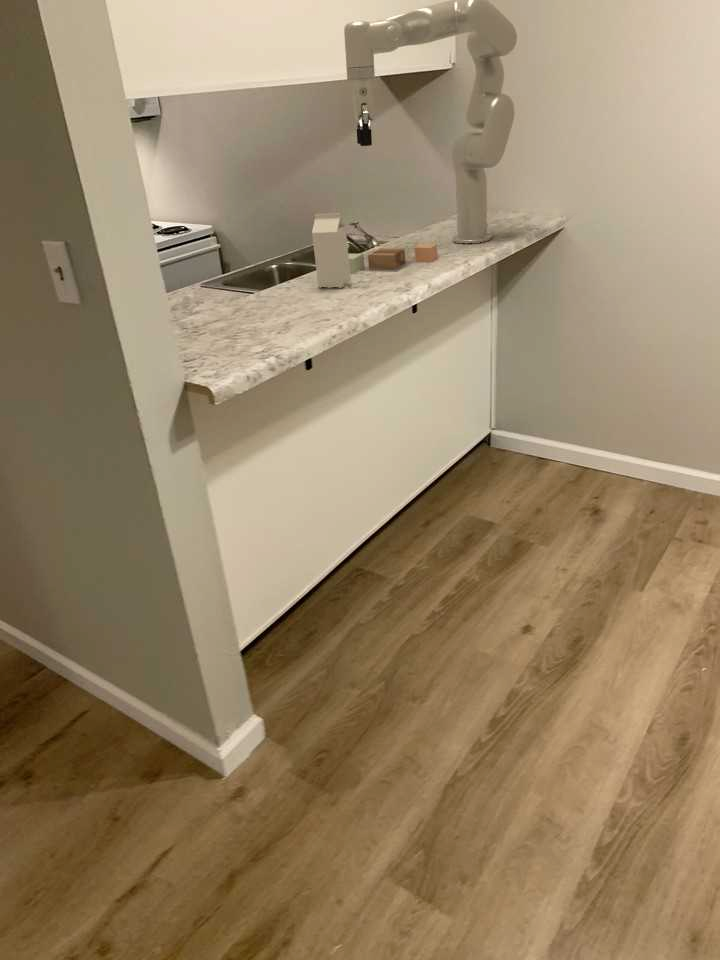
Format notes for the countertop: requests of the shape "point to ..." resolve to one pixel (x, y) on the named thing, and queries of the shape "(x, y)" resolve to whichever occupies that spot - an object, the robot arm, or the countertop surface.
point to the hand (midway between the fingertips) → (364, 144)
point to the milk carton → (331, 250)
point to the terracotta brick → (426, 253)
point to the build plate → (387, 269)
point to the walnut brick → (386, 258)
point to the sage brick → (356, 262)
